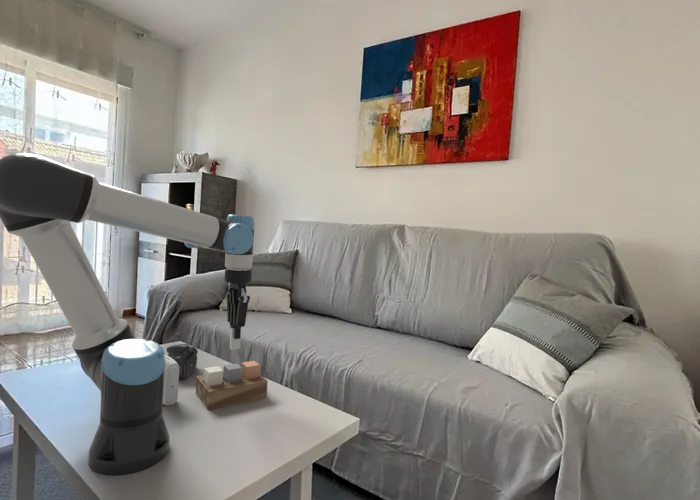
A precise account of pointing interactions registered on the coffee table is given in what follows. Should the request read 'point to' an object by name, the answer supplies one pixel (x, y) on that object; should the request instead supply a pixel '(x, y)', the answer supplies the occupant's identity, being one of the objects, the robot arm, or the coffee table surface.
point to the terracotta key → (250, 370)
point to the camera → (184, 358)
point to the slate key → (232, 373)
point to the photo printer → (170, 381)
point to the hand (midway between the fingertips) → (234, 348)
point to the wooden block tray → (230, 391)
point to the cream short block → (213, 376)
